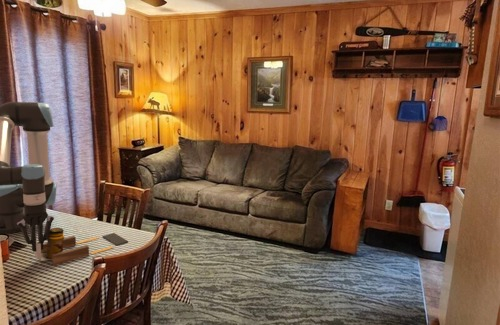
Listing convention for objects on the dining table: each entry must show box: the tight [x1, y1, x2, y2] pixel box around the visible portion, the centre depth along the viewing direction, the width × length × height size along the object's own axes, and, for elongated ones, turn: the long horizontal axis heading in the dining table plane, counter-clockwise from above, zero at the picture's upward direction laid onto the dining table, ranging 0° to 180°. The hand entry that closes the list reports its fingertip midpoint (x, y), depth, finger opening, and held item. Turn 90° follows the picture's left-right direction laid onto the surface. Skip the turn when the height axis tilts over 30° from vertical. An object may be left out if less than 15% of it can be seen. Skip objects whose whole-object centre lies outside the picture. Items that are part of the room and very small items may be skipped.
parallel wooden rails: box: [41, 235, 90, 266], centre depth 145 cm, size 16×14×4 cm
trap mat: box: [102, 232, 129, 246], centre depth 162 cm, size 14×6×1 cm, turn 49°
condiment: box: [40, 227, 65, 262], centre depth 141 cm, size 7×8×12 cm
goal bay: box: [76, 236, 114, 255], centre depth 155 cm, size 17×10×1 cm, turn 49°
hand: (38, 257), depth 137 cm, fingers closed
